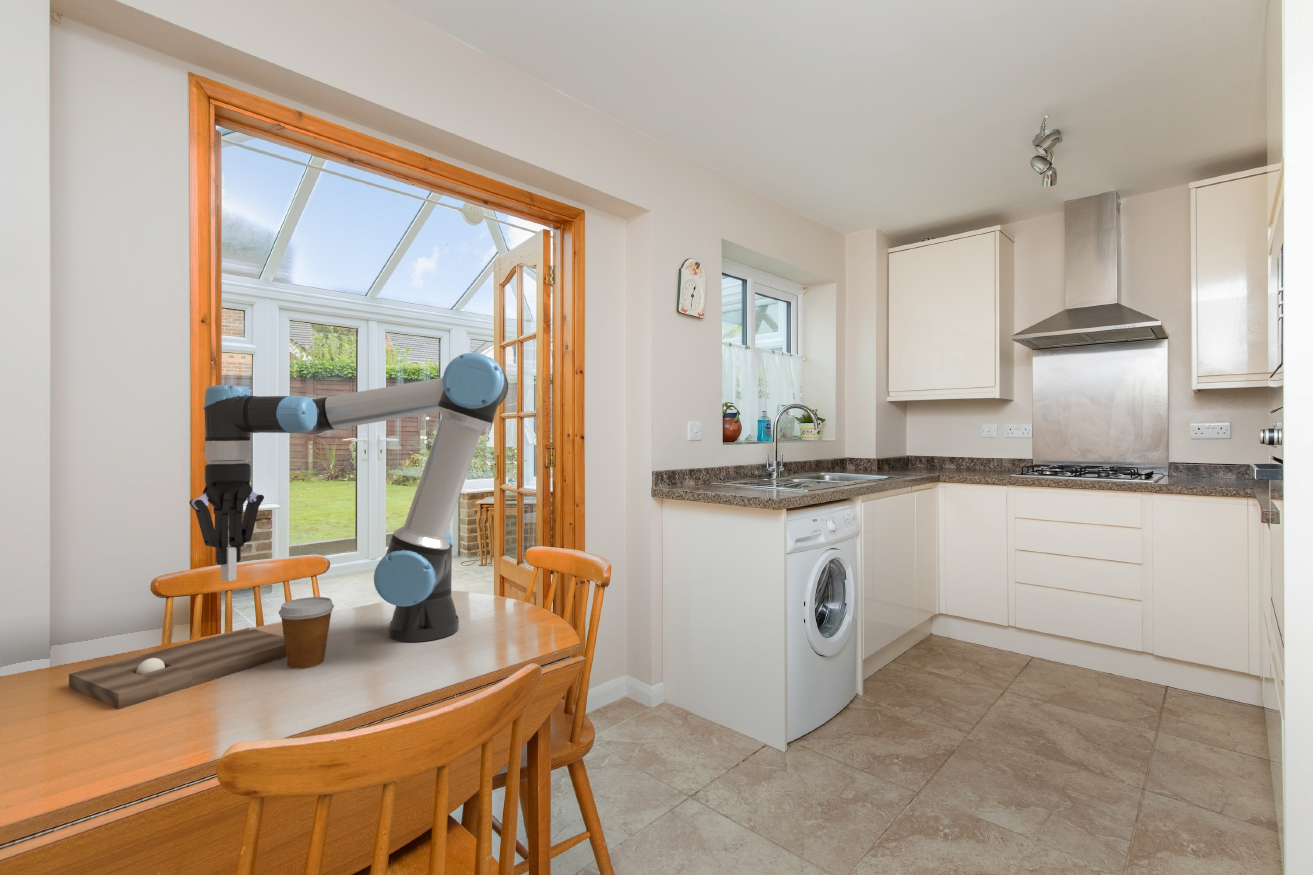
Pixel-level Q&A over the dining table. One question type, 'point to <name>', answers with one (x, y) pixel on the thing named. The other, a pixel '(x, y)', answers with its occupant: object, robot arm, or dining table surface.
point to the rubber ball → (150, 666)
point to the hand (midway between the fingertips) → (228, 579)
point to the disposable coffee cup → (306, 630)
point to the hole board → (178, 667)
